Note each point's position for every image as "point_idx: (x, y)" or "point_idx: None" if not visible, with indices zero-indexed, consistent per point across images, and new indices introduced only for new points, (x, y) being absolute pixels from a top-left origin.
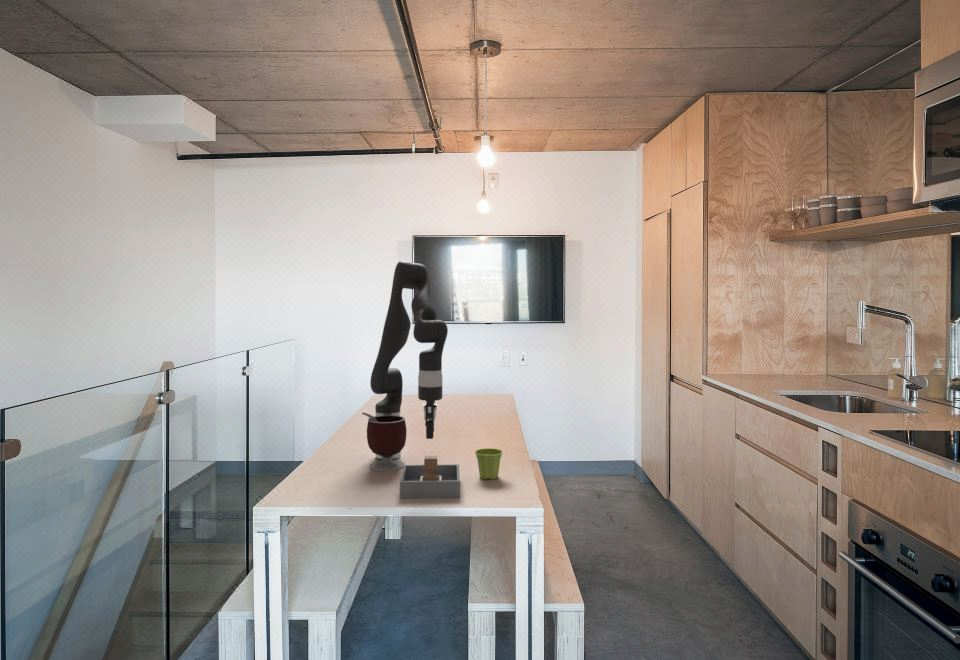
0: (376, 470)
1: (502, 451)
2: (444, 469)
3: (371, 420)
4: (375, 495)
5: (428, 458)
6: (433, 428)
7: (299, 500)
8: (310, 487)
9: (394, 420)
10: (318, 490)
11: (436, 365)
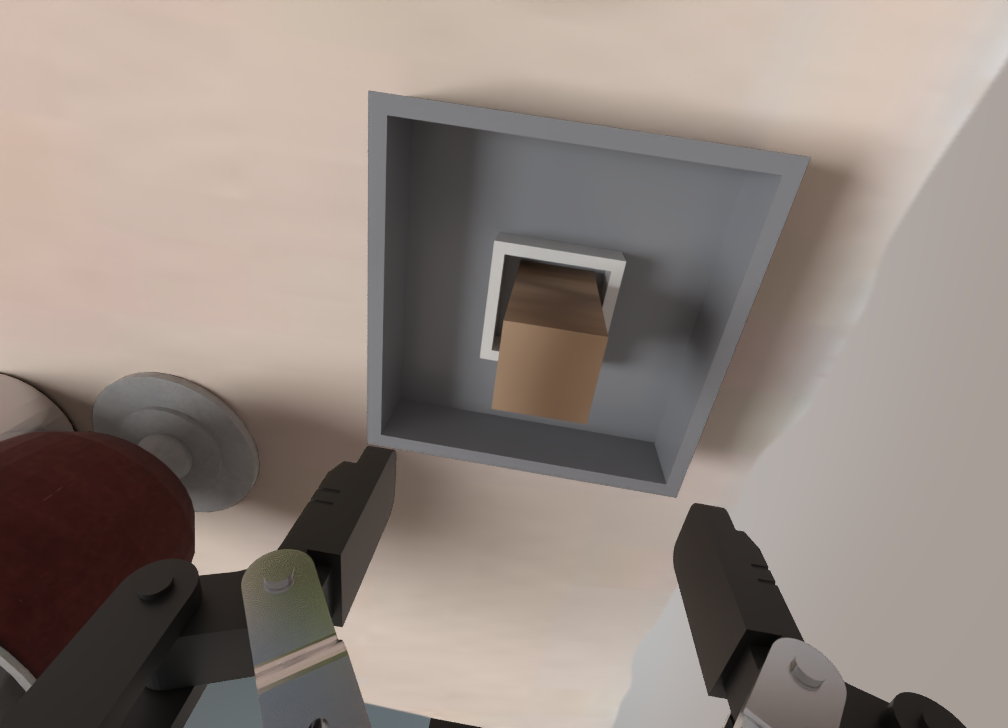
0: (251, 488)
1: None
2: (395, 207)
3: None
4: (589, 521)
5: (581, 396)
6: (381, 480)
7: (576, 697)
8: (449, 670)
9: None
10: (485, 656)
11: None
